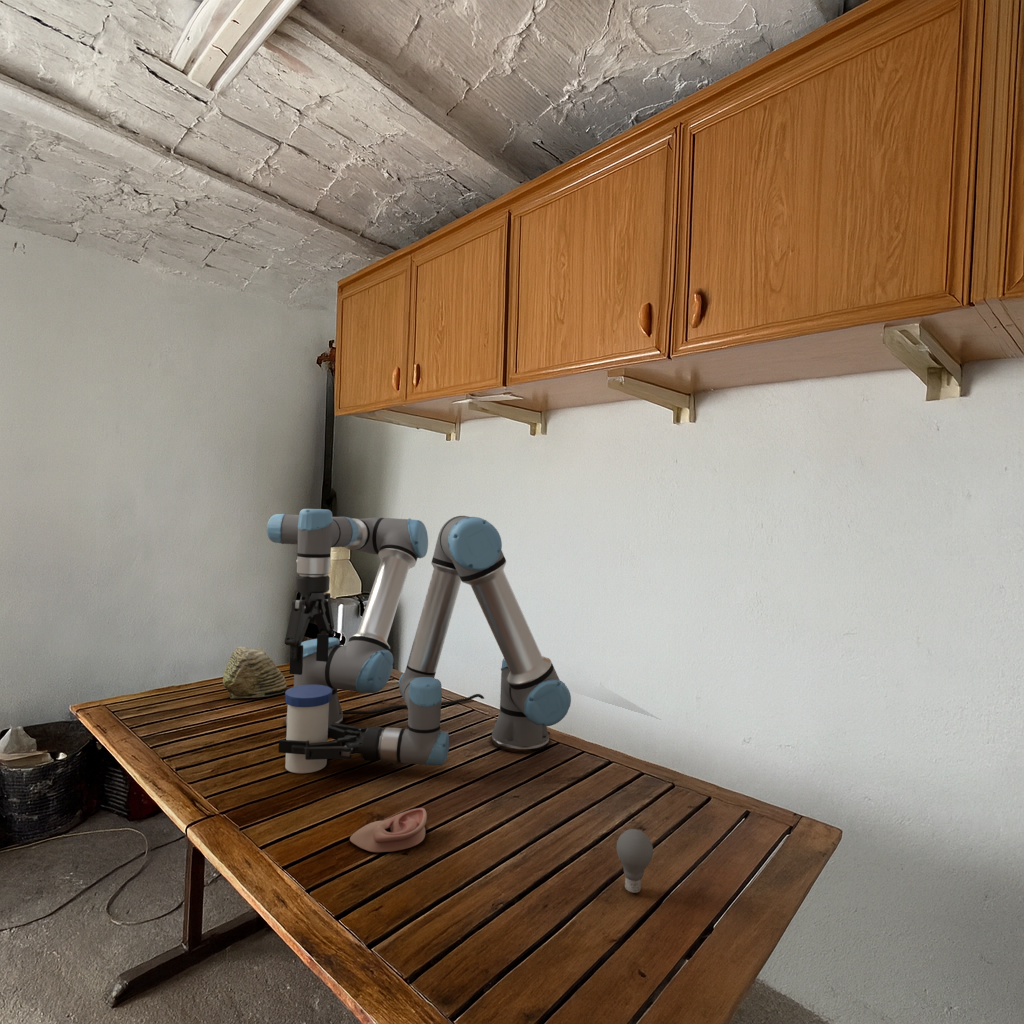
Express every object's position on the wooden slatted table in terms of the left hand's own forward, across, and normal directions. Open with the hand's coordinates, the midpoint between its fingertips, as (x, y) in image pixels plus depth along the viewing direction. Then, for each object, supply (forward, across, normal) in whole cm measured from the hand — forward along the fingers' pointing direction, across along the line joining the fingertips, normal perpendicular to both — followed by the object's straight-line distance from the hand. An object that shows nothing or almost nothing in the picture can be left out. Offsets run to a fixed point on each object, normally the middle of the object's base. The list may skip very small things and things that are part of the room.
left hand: (309, 667), depth 148 cm
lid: (+6, 0, 0) cm, 6 cm away
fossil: (+23, -42, -41) cm, 63 cm away
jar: (+23, 0, 0) cm, 23 cm away
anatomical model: (+23, +25, +31) cm, 46 cm away
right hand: (+17, 0, -4) cm, 18 cm away
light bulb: (+23, +30, +76) cm, 85 cm away
